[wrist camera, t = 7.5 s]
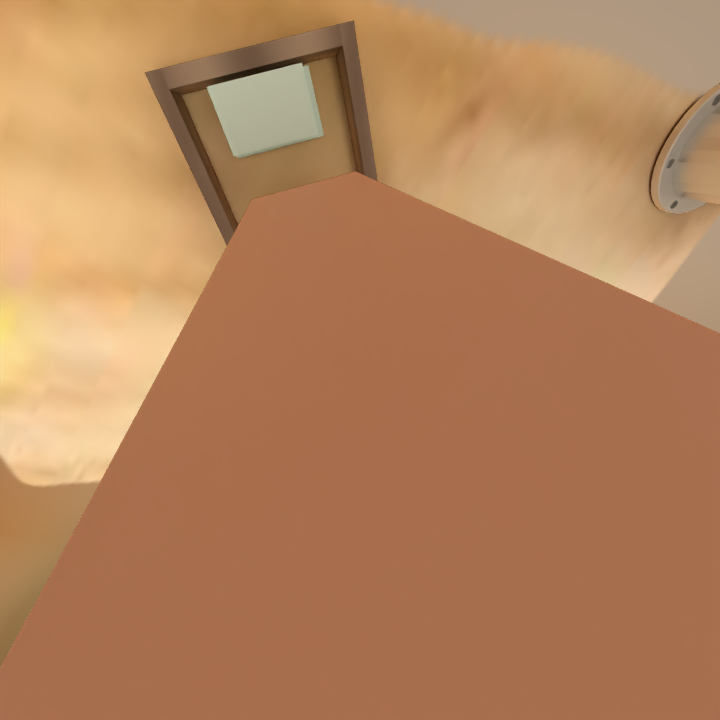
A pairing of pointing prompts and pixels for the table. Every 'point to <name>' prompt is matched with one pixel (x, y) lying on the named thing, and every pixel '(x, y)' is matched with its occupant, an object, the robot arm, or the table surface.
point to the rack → (251, 62)
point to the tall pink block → (397, 492)
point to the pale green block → (267, 110)
